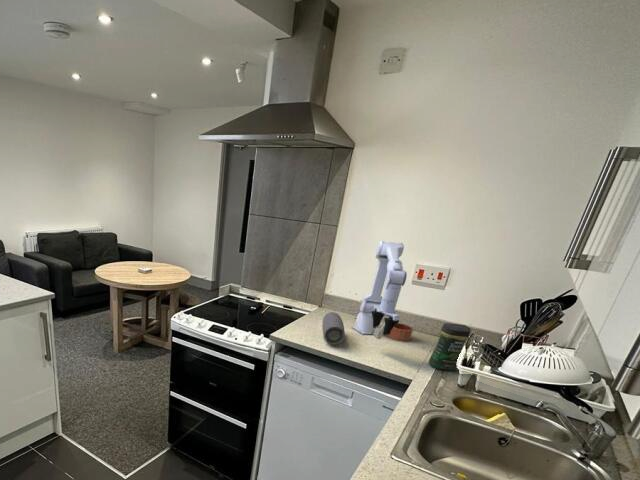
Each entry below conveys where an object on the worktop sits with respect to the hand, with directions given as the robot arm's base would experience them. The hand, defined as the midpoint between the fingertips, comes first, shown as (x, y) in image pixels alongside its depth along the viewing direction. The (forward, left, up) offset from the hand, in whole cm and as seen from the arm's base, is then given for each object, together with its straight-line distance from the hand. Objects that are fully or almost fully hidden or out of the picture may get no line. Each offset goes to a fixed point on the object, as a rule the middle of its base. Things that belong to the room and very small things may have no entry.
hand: (380, 330), depth 165 cm
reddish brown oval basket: (-19, +25, -10) cm, 33 cm away
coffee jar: (+15, +21, -10) cm, 28 cm away
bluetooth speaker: (-15, -13, -10) cm, 22 cm away
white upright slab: (0, 0, -4) cm, 4 cm away
